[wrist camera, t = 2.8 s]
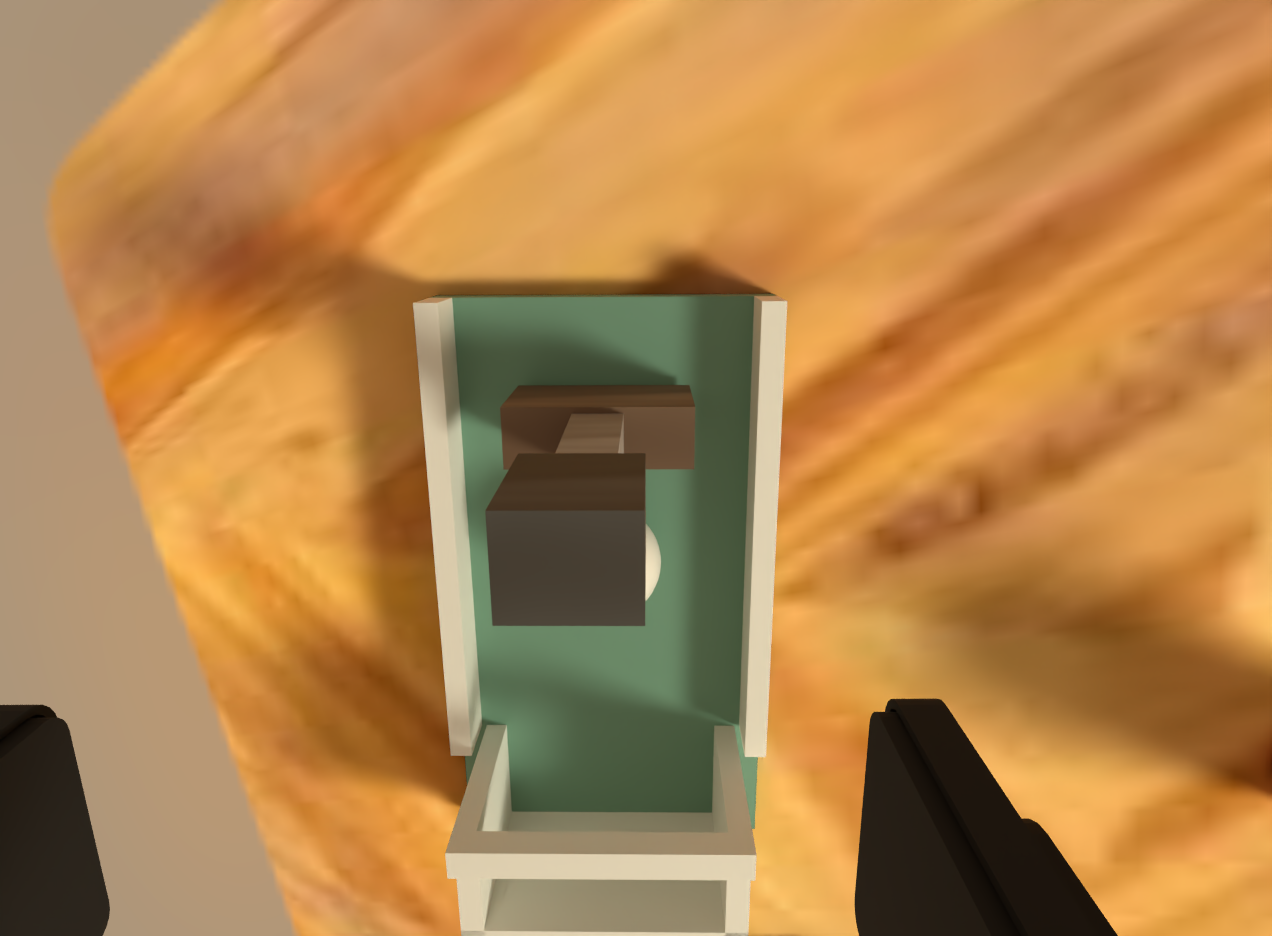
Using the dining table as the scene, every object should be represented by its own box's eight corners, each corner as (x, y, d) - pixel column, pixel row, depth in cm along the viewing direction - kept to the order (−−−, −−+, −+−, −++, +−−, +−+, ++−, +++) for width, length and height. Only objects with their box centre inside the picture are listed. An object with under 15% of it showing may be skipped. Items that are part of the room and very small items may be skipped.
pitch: (436, 295, 29) (359, 320, 21) (773, 293, 29) (818, 317, 21) (475, 810, 35) (426, 973, 27) (751, 812, 35) (780, 976, 27)
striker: (517, 379, 28) (405, 510, 15) (689, 379, 28) (724, 510, 15) (521, 445, 29) (416, 625, 16) (688, 445, 29) (722, 626, 16)
